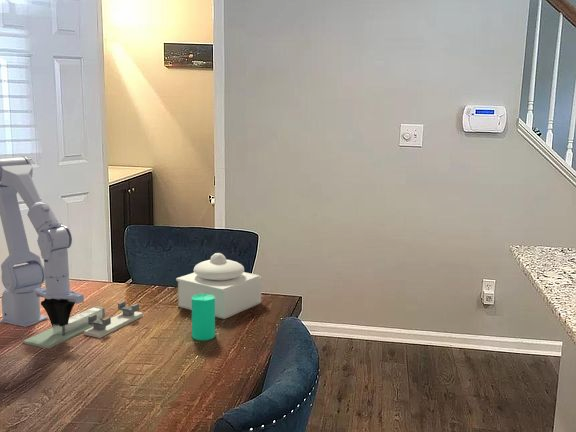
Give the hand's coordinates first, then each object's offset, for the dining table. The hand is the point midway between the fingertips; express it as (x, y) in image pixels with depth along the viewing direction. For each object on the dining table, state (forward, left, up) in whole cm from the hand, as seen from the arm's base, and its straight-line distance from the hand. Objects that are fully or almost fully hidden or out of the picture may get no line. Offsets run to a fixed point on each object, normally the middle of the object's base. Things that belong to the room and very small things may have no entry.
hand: (60, 326), depth 161 cm
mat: (-1, 0, -2) cm, 2 cm away
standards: (+7, +12, -2) cm, 14 cm away
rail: (0, +7, -2) cm, 7 cm away
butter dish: (+24, +39, -3) cm, 46 cm away
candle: (+32, +16, -3) cm, 36 cm away
